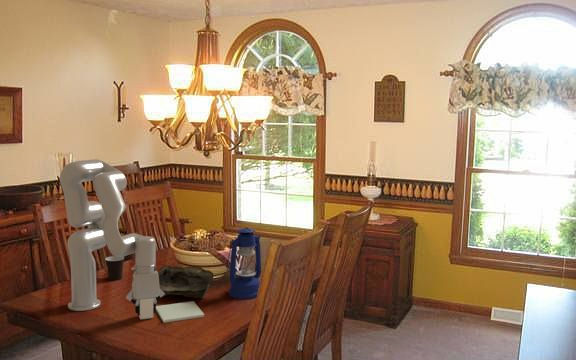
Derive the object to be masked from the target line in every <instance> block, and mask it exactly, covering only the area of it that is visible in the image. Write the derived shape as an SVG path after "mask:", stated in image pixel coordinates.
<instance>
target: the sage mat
mask: <svg viewBox="0 0 576 360" xmlns="http://www.w3.org/2000/svg"><path fill="white" fill-rule="evenodd" d="M155 312H156V313H157V314H158V316H159V318H160V320H161V321H162V322H163V323H164V324H165V323H171V322H177V321H184V320H185V321H186V320H191V319H199V318H205V313H204V312H203V311H202V310H201V309H200V307H199V306H198V305H197V304H196V302H195V301H193V300H192V301H185V302H178V303H171V304H169V303H168V304H163V305H156V311H155Z"/></svg>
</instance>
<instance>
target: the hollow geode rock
mask: <svg viewBox="0 0 576 360" xmlns="http://www.w3.org/2000/svg"><path fill="white" fill-rule="evenodd" d="M157 272H158V276H159V287H160V288H161V290H162V291H163V292H164V293H165V294H164V295H163V296H162V297H166V296H168V295H169V296H170V295H176V296H184V297H186V298H192V299H193V298H195V299H200V300H201V299H204V298H205V296H206V294H207V292H208V290H209V288H210V285H211V283H212V282H213V283H214V272H212V271H211V270H209V269H208V270H207V269H204V268H203V267H199V266H185V267H182V266H181V267H180V266H170V265H165V266H162V267H160V268H159V270H157ZM162 297H161V298H162Z"/></svg>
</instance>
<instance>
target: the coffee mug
mask: <svg viewBox="0 0 576 360" xmlns="http://www.w3.org/2000/svg"><path fill="white" fill-rule="evenodd" d="M124 263H125V256H123V257H116V256H114V255H112V256H107V257H106V258H105V266H106V267H105V268H106V274H107V280H108V281H113V282H116V281H121V280H122V279H123V275H124V274H123V271H124Z"/></svg>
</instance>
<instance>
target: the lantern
mask: <svg viewBox="0 0 576 360" xmlns="http://www.w3.org/2000/svg"><path fill="white" fill-rule="evenodd" d="M236 231H237V232H238V235H237V238H235V239H234V240H233V239H232V240H231V242H230V249H229V252H228V257H227V263H226V266H228V265H229V260H230V265H229V267H230V268H229V267H226V269H227V270H226V271H227V272H228V273H229V282H230V288H229V289H228V295H229V297H231V298H234V299H238V300H239V299H240V300H251V299H256V297H257V293H258V288H259V284H260V285H261V281H260V279H259V278H261V275H262V262H261V261H262V260H261V257H262V256H261V243H260V239H261V235H255V234H254V233H255V232H256V230H255V229H253V228H250V227H244V228H239V229H237V230H236ZM237 249H238V250H237ZM250 256H251V258H250ZM254 256H255V263H254V266H253V267H252V268H251V269H248V267H249V265H250V264H251V262H252V261H253V257H254ZM239 257H246V258H247V257H248V259H249V260H250V261H247V262H245V264H247V263H248V264H247V266H246V267H244V268H241V269H239V270H237V268H238V266H237V267H236V261H237V258H239ZM228 268H229V269H228ZM253 269H254V270H253ZM257 298H258V297H257Z"/></svg>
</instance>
